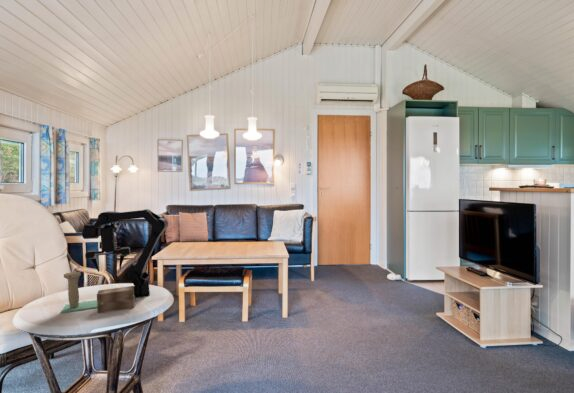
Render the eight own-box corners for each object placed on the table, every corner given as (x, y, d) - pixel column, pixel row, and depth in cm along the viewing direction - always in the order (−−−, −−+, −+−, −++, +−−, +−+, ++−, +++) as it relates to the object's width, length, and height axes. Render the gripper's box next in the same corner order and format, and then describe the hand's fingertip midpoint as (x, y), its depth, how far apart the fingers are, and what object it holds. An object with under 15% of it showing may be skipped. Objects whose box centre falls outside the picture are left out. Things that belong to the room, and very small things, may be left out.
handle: (79, 308, 152) (77, 274, 152) (63, 309, 151) (61, 275, 151) (84, 304, 157) (82, 271, 156) (69, 305, 156) (66, 272, 155)
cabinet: (134, 303, 159) (133, 285, 158) (133, 308, 151) (132, 290, 151) (100, 308, 154) (98, 290, 153) (97, 314, 146) (96, 295, 146)
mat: (100, 300, 163) (100, 299, 163) (97, 308, 154) (97, 306, 154) (66, 305, 158) (65, 304, 158) (60, 313, 149) (60, 312, 149)
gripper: (130, 234, 178) (131, 264, 178) (88, 237, 171) (90, 268, 172) (128, 237, 167) (130, 269, 168) (84, 240, 161) (86, 274, 161)
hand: (109, 270), depth 168 cm, fingers open, 9 cm apart
